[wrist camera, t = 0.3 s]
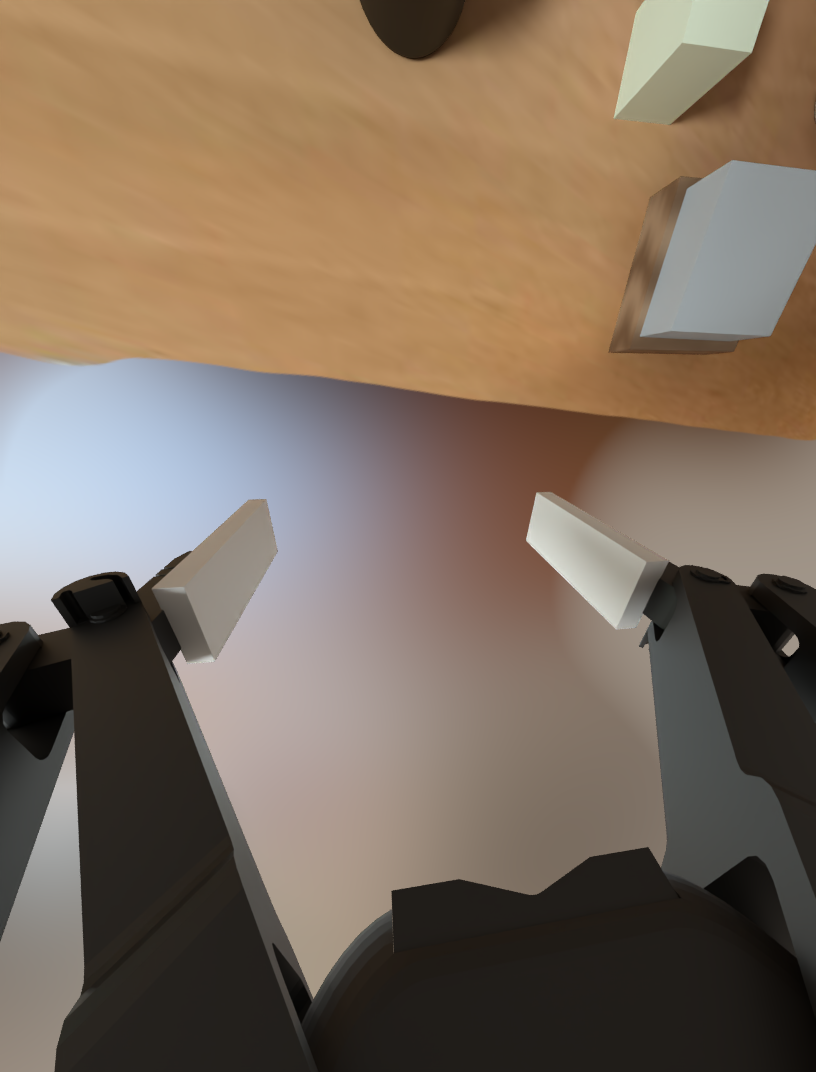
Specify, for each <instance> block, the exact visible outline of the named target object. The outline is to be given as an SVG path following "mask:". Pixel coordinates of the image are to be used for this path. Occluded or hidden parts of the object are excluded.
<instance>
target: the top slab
mask: <svg viewBox="0 0 816 1072" xmlns="http://www.w3.org/2000/svg"><path fill="white" fill-rule="evenodd" d="M815 244H816V171H815V170H807V169H799V168H791V167H783V166H775V165H767V164H759V163H751V162H743V161H736V160H732V161H730V162H728V163H727V164H725V165H724V166H722V167H721V168H719V169H717V170H716V171H714V172H713V173H711V174H709V175H708V176H706V177H705V178H703V179H702V180H700V181H698V182H697V183H695V184H694V185H692V186H690V187H689V188H687V191H686V194H685V197H684V200H683V203H682V206H681V209H680V213H679V216H678V219H677V222H676V225H675V228H674V231H673V234H672V237H671V241H670V244H669V247H668V250H667V253H666V256H665V259H664V262H663V265H662V269H661V272H660V275H659V278H658V281H657V284H656V287H655V290H654V293H653V297H652V300H651V303H650V306H649V309H648V312H647V315H646V318H645V322H644V325H643V328H642V331H641V334H640V337H653V338H673V339H693V340H713V341H737V340H744V339H752V338H760V337H768V336H771V334H772V332H773V330H774V328H775V326H776V324H777V322H778V320H779V318H780V315H781V313H782V311H783V309H784V307H785V305H786V303H787V301H788V299H789V297H790V295H791V293H792V291H793V289H794V287H795V285H796V283H797V281H798V279H799V277H800V275H801V273H802V271H803V269H804V267H805V265H806V263H807V261H808V258H809V256H810V254H811V252H812V250H813V248H814V246H815Z"/></svg>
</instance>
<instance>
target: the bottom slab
mask: <svg viewBox="0 0 816 1072" xmlns="http://www.w3.org/2000/svg"><path fill="white" fill-rule="evenodd" d="M702 179H703V178H693V177H682V176H681V177H679V178H678V179H676V180H675V181H673V182H672V183H671V184H669V185H668V186H666V187H665V188H663V189H662V190H660V191H659V192H657V193H656V194H654V195H653V196H651V197H650V200H649V204H648V207H647V211H646V215H645V219H644V222H643V226H642V230H641V233H640V237H639V241H638V244H637V248H636V252H635V256H634V259H633V263H632V267H631V270H630V274H629V278H628V282H627V285H626V289H625V293H624V296H623V300H622V304H621V307H620V311H619V315H618V319H617V322H616V326H615V330H614V333H613V337H612V341H611V344H610V348H609V352H611V353H659V354H715V353H725V352H734V350H735V348H736V346H737V343H738V341H739V340H737V341H713V340H693V339H673V338H653V337H640V334H641V331H642V328H643V325H644V322H645V318H646V315H647V312H648V309H649V306H650V303H651V300H652V297H653V293H654V290H655V287H656V284H657V281H658V278H659V275H660V272H661V269H662V265H663V262H664V259H665V256H666V253H667V250H668V247H669V244H670V241H671V237H672V234H673V231H674V228H675V225H676V222H677V219H678V216H679V213H680V209H681V206H682V203H683V200H684V197H685V194H686V191H687V188H689V187H690V186H692V185H694V184H695V183H697V182H698V181H700V180H702Z"/></svg>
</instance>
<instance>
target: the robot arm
mask: <svg viewBox="0 0 816 1072" xmlns="http://www.w3.org/2000/svg"><path fill="white" fill-rule="evenodd" d="M526 541H527V542H528V543H529V544H530V545H531V546H532V547H533V548H534V549H535V550H536V551H537V552H538V553H539V554H540V555H541V556H542V557H543V558H544V559H545V560H546V561H547V562H548V563H549V564H550V565H551V566H552V567H553V568H554V569H555V570H557V572H558V573H559V574H560V575H562V576H563V577H564V578H565V579H566V580H567V581H568V582H569V583H570V584H571V585H572V586H573V587H574V588H575V589H576V590H577V591H578V592H579V593H580V594H581V595H582V596H583V597H584V598H585V599H586V600H587V601H588V602H589V603H590V604H591V605H592V606H593V607H594V608H595V609H596V610H597V611H598V612H599V613H600V614H601V615H602V616H603V617H604V618H605V619H606V620H607V621H608V622H609V623H610V624H611V625H612V626H613V627H614V628H615V629H626V628H636V627H637V625H638V623H639V620H640V619H641V617H642V615H643V614H644V615H646V616H647V617H648V618H649V619H651V620H652V621H651V623H650V625H649V627H648V629H647V631H646V633H645V635H644V637H643V639H642V641H641V643H640V645H639V647H642V648H643V647H644V645H645V644H648V643H649V652H650V662H651V672H652V683H653V694H654V705H655V714H656V726H657V736H658V747H659V756H660V757H659V758H660V768H661V779H662V788H663V800H664V810H665V821H666V831H667V846H666V852H665V856H664V859H663V863H662V866H661V867H660V866H659V864H658V863H657V861H656V859H655V857H654V856H653V854H652V853H651V851H650V849H649V848H648V847H647V848H640V849H635V850H629V851H623V852H617V853H611V854H606V855H599V856H593V857H589V858H588V859H587V860H585V861H584V862H583V863H581V864H580V865H579V866H577V867H576V868H574V869H573V870H572V871H570V872H569V873H567V874H566V875H565V876H563V877H562V878H561V879H559V880H558V881H556V882H555V883H553V884H552V885H551V886H549V887H548V888H547V889H545V890H544V891H542V892H541V893H539V894H537V895H527V894H522V893H518V892H513V891H509V890H504V889H500V888H496V887H491V886H487V885H482V884H478V883H473V882H469V881H465V880H460V879H458V880H452V881H446V882H440V883H435V884H429V885H423V886H417V887H411V888H405V889H399V890H393V891H392V910H390V911H388V912H387V913H385V914H384V915H382V916H381V917H379V918H378V919H376V920H375V921H374V922H373V923H372V924H371V925H369V926H368V927H367V928H366V929H365V930H364V931H363V932H361V933H360V934H359V935H358V936H357V938H356V939H355V940H354V941H353V942H352V943H351V944H350V946H349V947H348V948H347V949H346V950H345V951H344V953H343V954H342V955H341V957H340V958H339V959H338V961H337V962H336V964H335V965H334V967H333V968H332V969H331V971H330V972H329V974H328V975H327V977H326V978H325V980H324V982H323V984H322V985H321V987H320V989H319V991H318V992H317V994H316V996H315V998H314V999H313V997H312V994H311V992H310V990H309V987H308V985H307V982H306V980H305V977H304V975H303V973H302V970H301V968H300V966H299V963H298V961H297V958H296V956H295V954H294V951H293V949H292V947H291V944H290V942H289V940H288V938H287V935H286V933H285V931H284V929H283V927H282V925H281V923H280V921H279V919H278V916H277V914H276V912H275V910H274V907H273V905H272V903H271V900H270V898H269V895H268V893H267V890H266V888H265V886H264V883H263V881H262V878H261V876H260V873H259V871H258V868H257V866H256V863H255V861H254V859H253V856H252V854H251V851H250V849H249V846H248V844H247V841H246V839H245V837H244V834H243V832H242V829H241V827H240V825H239V822H238V819H237V817H236V814H235V812H234V810H233V807H232V805H231V802H230V800H229V798H228V795H227V792H226V790H225V787H224V785H223V783H222V780H221V778H220V775H219V773H218V770H217V768H216V765H215V763H214V761H213V758H212V756H211V753H210V751H209V748H208V746H207V743H206V741H205V739H204V736H203V734H202V731H201V729H200V726H199V724H198V721H197V719H196V716H195V714H194V712H193V709H192V707H191V704H190V702H189V699H188V697H187V695H186V693H185V690H184V687H183V685H182V682H181V680H180V677H179V675H178V672H177V670H176V668H175V666H174V664H173V662H172V660H173V659H174V658H175V657H176V655H177V654H178V653H179V651H180V650H181V651H182V653H183V655H184V658H185V660H186V662H187V664H190V663H203V662H215V660H216V659H217V657H218V655H219V653H220V652H221V650H222V648H223V646H224V645H225V643H226V641H227V639H228V638H229V636H230V634H231V632H232V631H233V629H234V627H235V625H236V624H237V622H238V620H239V618H240V617H241V615H242V613H243V611H244V610H245V608H246V606H247V604H248V603H249V601H250V599H251V597H252V596H253V594H254V592H255V590H256V588H257V587H258V585H259V583H260V581H261V580H262V578H263V576H264V574H265V573H266V571H267V569H268V568H269V566H270V564H271V562H272V561H273V559H274V557H275V555H276V553H277V552H278V550H277V546H276V541H275V536H274V532H273V527H272V523H271V518H270V514H269V509H268V505H267V500H266V499H256V500H248V501H247V502H246V503H245V504H244V505H243V506H241V507H240V508H239V509H238V510H237V511H236V512H235V513H234V514H233V515H231V516H230V517H229V518H228V519H227V520H226V521H225V522H224V523H223V524H222V525H221V526H219V527H218V528H217V529H216V530H215V531H214V532H213V533H212V534H211V535H210V536H209V537H208V538H206V539H205V540H204V541H203V542H202V543H201V544H200V545H199V546H198V547H197V548H195V549H194V550H193V551H189V552H186V553H185V554H183V555H181V556H179V557H177V558H175V559H174V560H172V561H171V562H170V563H169V564H168V565H167V566H165V567H164V569H163V570H161V571H160V572H159V573H157V574H156V577H153V578H152V579H151V580H149V581H148V582H147V583H146V584H145V585H144V586H143V587H141V588H140V589H139V590H138V591H137V592H136V590H135V588H134V586H133V584H132V582H131V580H130V578H129V576H128V575H127V574H125V573H123V572H107V573H101V574H97V575H93V576H89V577H86V578H83V579H81V580H78V581H75V582H73V583H71V584H69V585H67V586H65V587H63V588H62V589H61V590H59V591H58V592H57V593H55V594H54V596H53V598H52V599H51V601H52V602H53V604H54V605H55V607H56V608H57V610H58V611H59V613H60V614H61V615H62V617H63V618H64V620H65V621H66V623H67V624H68V626H69V627H70V628H67V629H63V630H59V631H54V632H50V633H45V634H41V635H37V633H36V632H35V631H34V630H33V628H32V627H31V626H30V625H29V624H27V623H26V622H10V623H5V624H0V941H1V937H2V935H3V932H4V929H5V926H6V923H7V921H8V918H9V915H10V912H11V909H12V906H13V904H14V901H15V898H16V895H17V892H18V889H19V886H20V884H21V881H22V878H23V875H24V872H25V869H26V867H27V864H28V861H29V858H30V855H31V852H32V849H33V847H34V844H35V841H36V838H37V835H38V832H39V829H40V827H41V824H42V821H43V818H44V815H45V812H46V809H47V806H48V804H49V801H50V798H51V795H52V792H53V790H54V787H55V784H56V781H57V778H58V775H59V773H60V770H61V767H62V764H63V761H64V758H65V756H66V753H67V750H68V747H69V744H70V741H71V738H72V735H73V733H75V758H76V781H77V803H78V804H77V805H78V827H79V851H80V874H81V897H82V922H83V944H84V984H83V988H82V992H81V996H80V998H79V999H78V1001H77V1002H76V1004H75V1005H74V1007H73V1008H72V1010H71V1011H70V1013H69V1014H68V1016H67V1017H66V1018H65V1020H64V1023H63V1027H62V1030H61V1034H60V1038H59V1041H58V1045H57V1049H56V1061H55V1072H816V589H814V588H812V587H811V586H809V585H806V584H804V583H802V582H801V581H799V580H797V579H794V578H790V577H787V576H777V575H772V574H760V575H758V576H757V577H756V579H755V581H754V582H753V583H752V585H751V586H750V587H748V586H739V585H736V584H735V583H734V582H733V581H732V580H731V579H729V578H728V577H727V576H724V575H722V574H720V573H718V572H716V571H714V570H711V569H708V568H703V567H699V566H693V565H691V566H690V565H684V566H681V567H677V566H676V565H674V564H672V563H671V562H669V560H667V559H665V558H664V557H662V556H660V555H658V554H656V553H655V552H653V551H652V550H650V549H648V548H646V547H645V546H643V545H641V544H639V543H638V542H636V541H634V540H632V539H631V538H629V537H627V536H626V535H624V534H622V533H621V532H619V531H617V530H615V529H614V528H612V527H610V526H608V525H607V524H605V523H603V522H602V521H600V520H598V519H596V518H595V517H593V516H591V515H589V514H588V513H586V512H584V511H583V510H581V509H579V508H577V507H576V506H574V505H572V504H571V503H569V502H567V501H565V500H564V499H562V498H560V497H558V496H557V495H555V494H553V493H552V492H540V493H539V492H537V494H536V498H535V502H534V507H533V511H532V516H531V521H530V525H529V530H528V534H527V539H526ZM794 634H795V635H796V636H797V638H798V640H799V648H798V649H797V650H796V651H795V652H794V654H792V655H791V656H790V657H788V656H787V655H786V654H785V653H784V652H783V651H782V648H783V647H784V646H785V645H786V644H787V643H788V641H789V640H790V639H791V638H792V636H793V635H794ZM392 917H393V927H392ZM393 943H394V952H393Z"/></svg>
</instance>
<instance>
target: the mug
mask: <svg viewBox="0 0 816 1072" xmlns="http://www.w3.org/2000/svg"><path fill="white" fill-rule="evenodd" d="M360 2H361V5H362V8H363V10H364V12H365V14H366V17H367V19H368V21H369V23H370V25H371V26H372V28H373V29H374V31H375V33H376V34H377V36H378V37H379V38H380V39H381V40H382V42H383V43H384V44H385V45H386V46H388V47H389V48H390V49H391V50H392V51H394V52H396V53H397V54H399V55H402V56H405V57H408V58H419V57H424V56H427V55H429V54H431V53H432V52H434V51H435V50H436V49H438V48H439V47H440V46H441V45H442V44H443V43H444V42H445V40H446V39H447V38H448V37H449V35H450V34H451V32H452V31H453V29H454V27H455V26H456V24H457V21H458V19H459V17H460V14H461V12H462V8H463V5H464V2H465V0H360Z"/></svg>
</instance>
